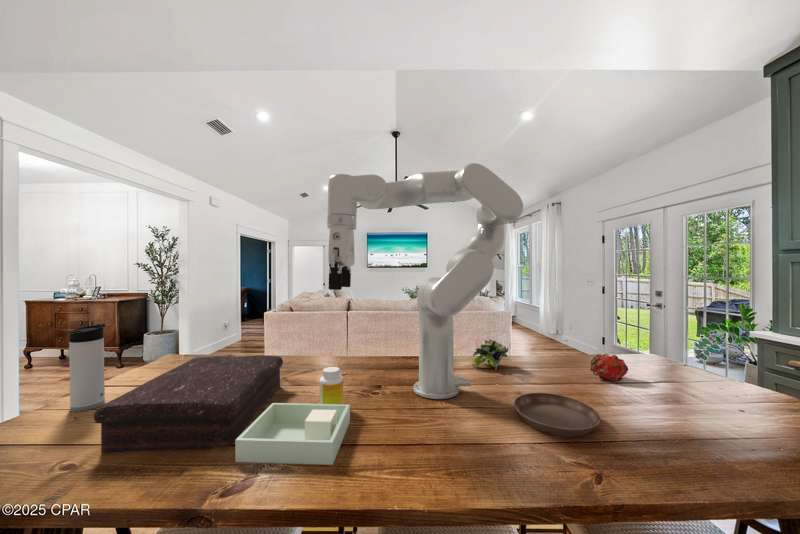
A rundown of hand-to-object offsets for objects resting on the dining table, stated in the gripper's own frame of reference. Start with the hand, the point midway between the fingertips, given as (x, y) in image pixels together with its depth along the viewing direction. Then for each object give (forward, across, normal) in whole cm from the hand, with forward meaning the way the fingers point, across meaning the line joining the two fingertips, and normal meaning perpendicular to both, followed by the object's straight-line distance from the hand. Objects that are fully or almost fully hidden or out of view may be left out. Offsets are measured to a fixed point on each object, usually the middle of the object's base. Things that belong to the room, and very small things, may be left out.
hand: (340, 288), depth 88 cm
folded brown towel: (+31, -11, +28) cm, 43 cm away
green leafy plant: (+28, +29, -46) cm, 61 cm away
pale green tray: (+29, -22, +2) cm, 37 cm away
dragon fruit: (+27, +21, -80) cm, 87 cm away
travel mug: (+31, -10, +60) cm, 68 cm away
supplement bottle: (+29, -8, -1) cm, 30 cm away
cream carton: (+29, -22, -3) cm, 36 cm away
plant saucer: (+28, -8, -53) cm, 60 cm away
